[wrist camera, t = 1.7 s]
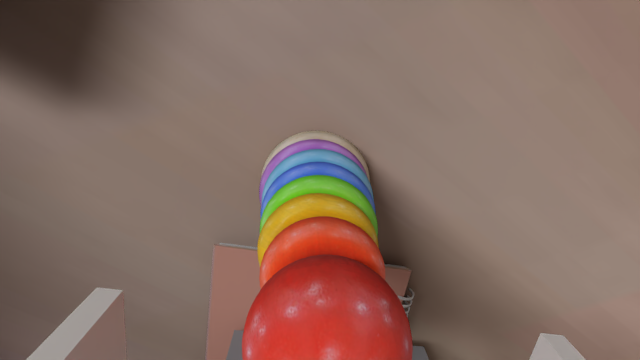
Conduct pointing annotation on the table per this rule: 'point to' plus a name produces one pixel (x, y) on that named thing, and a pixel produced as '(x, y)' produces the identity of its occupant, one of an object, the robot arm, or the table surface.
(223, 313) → the notebook
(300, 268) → the stacking toy
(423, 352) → the brick base
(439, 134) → the table surface
